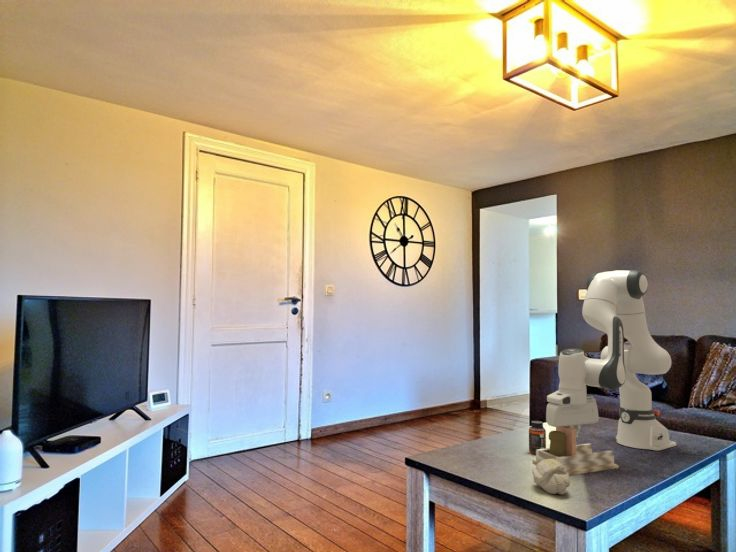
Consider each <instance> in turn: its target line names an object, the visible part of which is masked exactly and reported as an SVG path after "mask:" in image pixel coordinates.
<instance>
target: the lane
mask: <svg viewBox="0 0 736 552" xmlns="http://www.w3.org/2000/svg"><path fill="white" fill-rule="evenodd" d="M549 449H550V447H546V449H537V450H536V454H535V459H532V464H533V465H535V466H536V465H537V464H538V463H539V462H540V461H542V460H545V459H555V460H556V461H558V462H560V463H561V464H562V465H563V466H564V468H565V469H566V470H567V473H568V474H569V476H575V475H580V474H581V473H582V474H588V472H589V473H594V472H601V471H607V470H608V471H609V470H616V469H619V464H616V463H615V451H613V450H610V449H609V450H603V451H595V452H593V444H592V443H590V442H588V443H579V444H576V455H571V456H563V457H557V456H555V455H552V454H550V453H549ZM615 468H616V469H615Z"/></svg>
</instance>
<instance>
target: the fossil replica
mask: <svg viewBox="0 0 736 552" xmlns="http://www.w3.org/2000/svg"><path fill="white" fill-rule="evenodd" d="M532 475H533V482H534V483H535V485H537V486H538V487H540V488H542V489H543V490H544V491H545V492H546V493H547V494H549V495H556V494H557V495H558V494H559V495H564V494H566V493H567V488H568V487H570V486H571V479H570V475H569V474H568V473H567V470H566V469H565V468H564V466H563V465H562V464H561V463H560V462H558V461H556V460H555V459H545V460H542V461H540V462H539V463H538V464H537V465H536V464H535V467H534V468H533V469H532Z"/></svg>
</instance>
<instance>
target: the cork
mask: <svg viewBox="0 0 736 552" xmlns="http://www.w3.org/2000/svg"><path fill="white" fill-rule="evenodd" d="M548 439H549V441H550V443H549V448H550V449H549V453H550V454H552V455H555V456H557V457H563V456H565V449H564V443H563V442H564V441H565V434H564V433H563V432H561V431H556V430H551V431H549V433H548Z"/></svg>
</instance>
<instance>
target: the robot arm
mask: <svg viewBox="0 0 736 552" xmlns="http://www.w3.org/2000/svg"><path fill="white" fill-rule="evenodd" d="M648 288H649V282H648V278H647V276H646V274H645V273H644V272H643V271H641V270H636V269H631V270H624V269H623V270H620V269H619V270H617V269H616V270H612V271H611V270H610V271H609V270H608V271H602V272H600V271H598V272H594V273H591V274H589V276H588V277H587V279H586V281H585V290H586V293H585V296H584V301H583V304H582V309H581V310H582V311H581V312H582V313H581V314H582V317H583V319H584V321H585V322H586V323H587V324H588V325H589V326H591V327H592V328H594V329H596V330H598V331H600V332H603V333H605V334H606V335H607V345H605V347H603V349H602V350H601V353H600V358H592V357H591V358H590V357H588V356H586V355H585V352H584V350H583V349H580V348H566V349H563V350H561V351H560V353H559V356H558V357H559V358H558V372H557V373H558V374H557V375H558V378H559V383H558V390H556V391H554V392H552V393H549V394H548V395H546V401H547V402H548V403H547V405H546V411H545V420H546V421H545V422H546V423H547V425H548V426H551V427H552V428H553V427H554V428H556V427H561V426H567V427H570V428H574V429H576V439H578V438H579V432H580V430H581V428H582V425H588V424H589V425H590V424H597V423H598V422H599V421H600V420H599V409H598V405H597V400H596V398H595V397H594V396H593V395H587V391H588V390H587V386H588V387H589V386H590V387H595V388H596V387H597V388H602V389H605V390H610V391H616V390H619V391H618V392H619V408H618V414H619V419H618V424H617V425H618V426H617V435H615V440H616V443H618V444H619V445H622V446H625V447H629V448H632V449H633V448H634V449H642V450H653V451H662V450H666V449H670V448H673V447H676V446H678V445H677V442H676V441H673V440H670V434H669V430H668V428H667V427H666V426H664V425H663V424H662V423H661V422H659V421H658V420H657V418H656V416H660V415H661V414H660V413H661V411H660V410H657V409H653V408H652V407H653V405H652V399H653V398H652V390H651V389H650V387H649V386H648V385H647V384H645V383H643V382H641V381H640V380H639V379H638V377H637V375H636V374H641V375H642V374H643V375H652V376H654V375H664V374H667V372H669V371H670V369H671V367H672V357H671V355H670V354H669V352H668V350H666V349H664V348H663V347H662V346H660V345H659V344H658V343H657V342H656V341H655V339H654V338H653V337H652V335H651V332H650V331H649V329H648V328H649V327H648V323H647V317H646V308H645V304H644V300H643V297H644V296H645V294H646V293H647V291H648ZM625 339H626V340H627V341H628V342H629V343H630V344H631V345H630V344H625Z"/></svg>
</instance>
